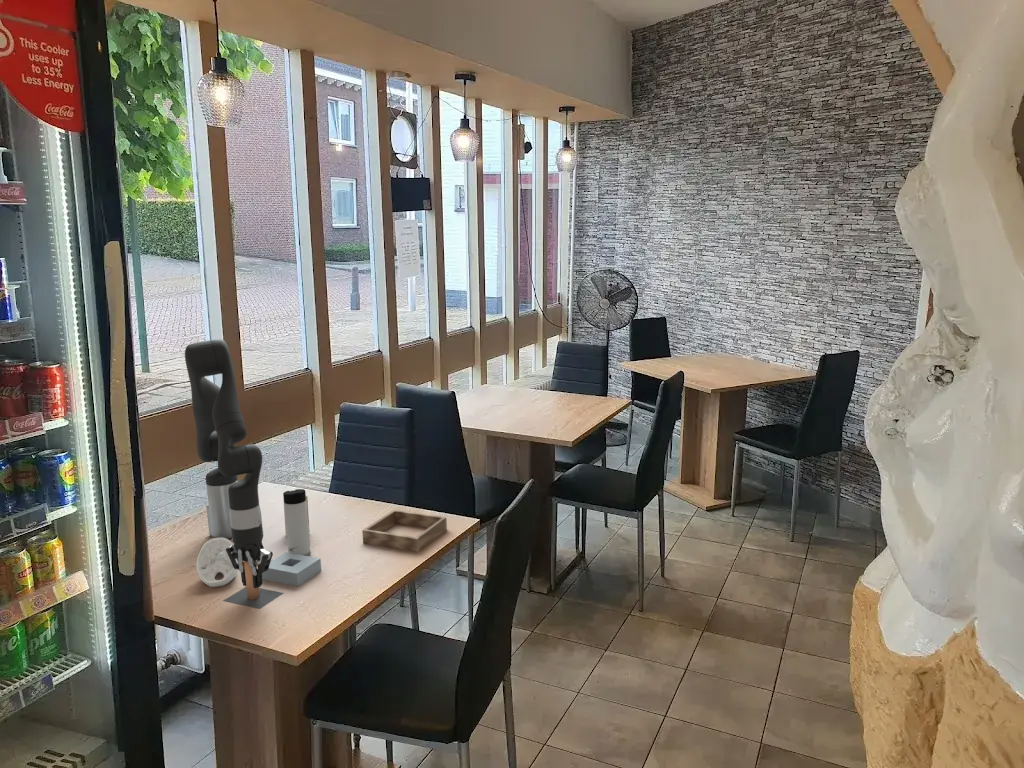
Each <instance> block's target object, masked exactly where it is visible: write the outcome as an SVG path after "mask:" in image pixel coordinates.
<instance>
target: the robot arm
mask: <svg viewBox="0 0 1024 768" xmlns="http://www.w3.org/2000/svg"><path fill="white" fill-rule="evenodd" d="M231 355H232V354H231V352H230V348H229V346H228V343H227V342H226V341H225V340H224V339H221V338H218V339H210V340H204V341H200V342H199V341H198V342H193V343H190V344H188V345H186V347H185V350H184V361H185V366H186V370H187V371H186V372H187V374H188V378H189V383H190V391H191V392H190V393H191V404H192V412H193V417H194V423H195V428H196V429H195V430H196V431H195V432H196V450H197V455H198V457H199V460H200V461H202V462H204V463H214V462H217V468H214V469H212V470H210V471H209V472H207V473H206V475H205V485H206V494H207V495H206V496H207V502H208V505H206V515H207V516H206V517H207V525H208V533H209V534H208V535H209V536H211V537H212V539H214V538H226V539H228V540H229V539H231V542H232V544H233V545H232V546H230V547H228V548H226V552H227V554H228V556H229V558H230V561H231V563H232V565H233V567H234V569H238V571H239V572H240V578H241V583H242V586H243V587H246V577H245V568H244V561H249V566H250V567H251V568H252V572H253V584H254V588H261V586H262V585H263V579H262V573H264V572H265V571H267V570H268V569H269V565H270V562H271V560H273V559H272V558H273V556H274V554H273V551H271V550H269V551H267V550H266V549H265V547H264V545H263V543H262V542H263V539H264V528H263V517H262V511H261V506H260V499H259V480H260V475H261V470H262V465H263V454H262V451H261V449H260V448H259V447H258V446H257V445H256V444H252V443H251V444H250V443H249V444H245V445H239V446H238V445H237V446H236V444H237V443H239V442H242V441H243V440H244V439H246V437H247V435H248V433H247V428H246V425H245V424H246V423H245V420H244V417H243V413H242V410H241V407H240V404H239V398H238V389H237V383H236V382H237V381H236V377H235V371H234V365H233V361H232V356H231ZM215 375H221V378H222V379H221V386H220V387H219V385H217V384H216V383H214V382H212V381H210V380H209V379H207V377H211V376H215ZM241 475H244V478H242V479H241V480H239V478H238V476H241ZM235 559H237V561H238V563H237V562H236V560H235ZM254 561H256V562H254ZM256 566H257V567H256Z"/></svg>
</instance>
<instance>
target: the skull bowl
mask: <svg viewBox="0 0 1024 768" xmlns="http://www.w3.org/2000/svg"><path fill="white" fill-rule="evenodd" d="M232 545H234V543H233V541H232V540H231V541H230V540H229V538H228V539H226V538H210V539H208V540H207V541H206V542H204V543H203V545H202V546H201V549H200V551H199V553H198V556H197V559H196V563H195V564H196V565H195V567H196V571H197V572H196V573H197V575H198V577H199V579H200V580H201V581H202V582H203V583H204V584H206V585H207V586H209V587H210V588H217V587H222V586H226V585H227V584H229V583H230V582H231V581H233V579H234V578H235V577H236V576H237V574H238V571H239V570H238V569H234V567H233V565H232V563H231V561H230V558H229V556H228V554H227V552H226V548H228V547H230V546H232ZM235 560H236V562H237V563H238V561H237V559H235ZM218 573H221V574H222V575H223V578H221V579H216V576H217V574H218Z"/></svg>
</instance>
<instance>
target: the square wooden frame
mask: <svg viewBox="0 0 1024 768" xmlns="http://www.w3.org/2000/svg"><path fill="white" fill-rule="evenodd" d="M395 524H401V525H408V526H415V527H418V528H419V527H420V528H426V529H425V530H424V531H422V532H421V533H420V534H418V535H417V536H410V535H405V534H398V533H391V532H386V531H387V529H389V528H391V527H392V526H394V525H395ZM447 529H448V523H447V516H441V515H440V516H439V515H434V514H433V515H432V514H426V513H421V512H413V511H406V510H400V509H399V510H398V509H393V510H392V511H390V512H389V513H387V514H386V515H384V516H382V517H381V518H379V519H377V520H376V521H374V522H373V523H371V524H369V525H368V526H367V527H365V528H364V529H362V531H361V532H362V542H363V544H369V545H375V546H379V547H380V546H381V547H388V548H393V549H398V550H399V549H400V550H405V551H410V552H416V553H418V552H420V551H421V550H422V549H424V548H425V547H427V545H429V544H430V543H431V542H432V541H434V540H435V539H436V538H438V537H439V536H440V535H442V534H443V533H444V532H445V531H447Z"/></svg>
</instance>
